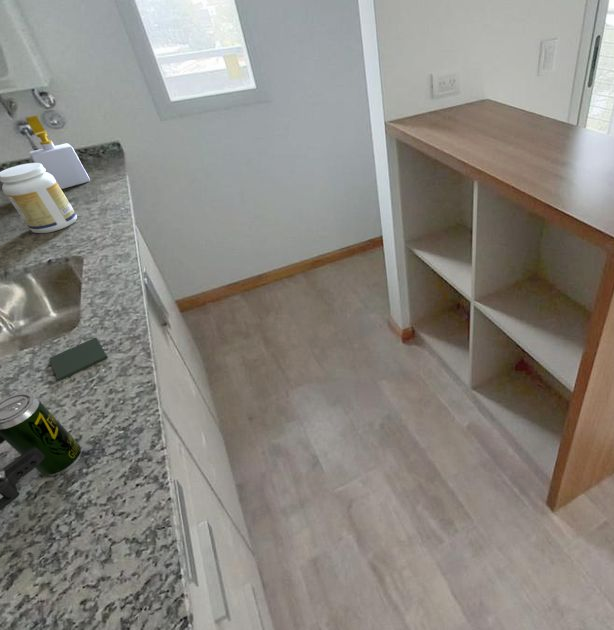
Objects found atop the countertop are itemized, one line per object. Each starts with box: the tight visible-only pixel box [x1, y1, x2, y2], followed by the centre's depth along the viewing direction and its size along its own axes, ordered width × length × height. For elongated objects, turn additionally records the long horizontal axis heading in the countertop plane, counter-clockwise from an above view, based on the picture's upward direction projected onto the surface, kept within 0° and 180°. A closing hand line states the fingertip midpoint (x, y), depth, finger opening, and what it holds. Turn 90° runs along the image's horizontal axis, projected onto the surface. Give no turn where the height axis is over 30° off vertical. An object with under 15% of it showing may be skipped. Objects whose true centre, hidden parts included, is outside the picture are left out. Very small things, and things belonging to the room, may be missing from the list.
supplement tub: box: [0, 162, 78, 234], centre depth 126 cm, size 12×12×17 cm
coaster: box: [48, 336, 109, 382], centre depth 82 cm, size 8×8×1 cm
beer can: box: [0, 392, 82, 477], centre depth 60 cm, size 5×5×12 cm
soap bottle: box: [25, 114, 91, 190], centre depth 152 cm, size 12×7×23 cm, turn 134°
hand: (22, 440), depth 59 cm, fingers open, 8 cm apart
